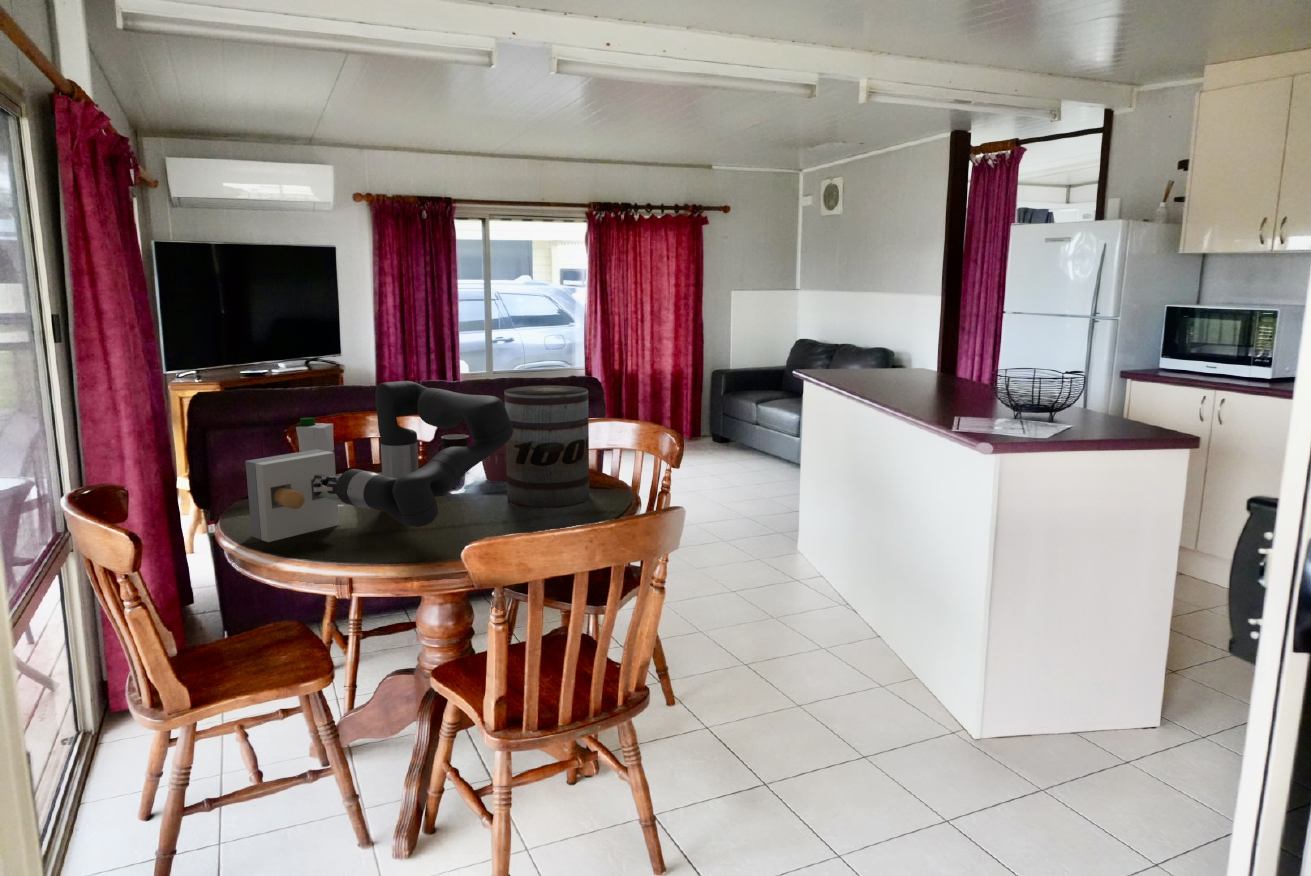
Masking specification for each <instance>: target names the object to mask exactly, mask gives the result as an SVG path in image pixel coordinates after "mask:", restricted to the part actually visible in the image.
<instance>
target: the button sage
mask: <svg viewBox="0 0 1311 876" xmlns="http://www.w3.org/2000/svg"><path fill="white" fill-rule="evenodd" d="M318 496H320V497H324V498H327V499H331V500H337V501H339V500H340V499H339V497H338V496H336V495H334V494H329V493H328V492H327V491H323V493H322V494H320V495H318Z"/></svg>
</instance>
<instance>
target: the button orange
mask: <svg viewBox="0 0 1311 876" xmlns="http://www.w3.org/2000/svg"><path fill="white" fill-rule="evenodd" d="M274 501H275V502H276V503H277V504H279V505H282V506H285V507H289V508H292V509H298V508H300V507H301V506H302V505H303V504H304V501H305V498H304V495H303V494H302V493H301V492H298V491H295V490H291V489H287V488H279V489H278V490H277V491H276V492H275V494H274Z"/></svg>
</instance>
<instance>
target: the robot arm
mask: <svg viewBox="0 0 1311 876" xmlns="http://www.w3.org/2000/svg"><path fill="white" fill-rule="evenodd" d="M374 395H375V409H376V418H377V430H378V434H379V437H380V438H379V439H380V457H381V458H380V460H381V474H380V473H379V472H378V473H377V472H374V471H368V470H362V469H357V468H351V469H348V470H346V471H344V472H343V473H338V474H336V475H329V476H328V475H323V474H318V475H314V477H313V479H314V483H313V489H314V495H316V496H318V495H320V494H322V493H323V491H327V492H328V493H329V494H334V495H336V496H338V497H339V500H340V501H341V502H342V503H344V504H346V505H349V506H354V507H358V508H363V509H367V510H376V511H381V512H385V513H386V514H387V515H389V516H390V517H392V518H393V519H395V520H396V521H397V522H399V523H400V524H403V525H405V526H408V527H411V528H412V527H413V528H420V527H425V526H428V525H430V524H432V523H433V522H434V521H435V520H436V518H437V517H438V513H439V506H438V503H437V500H436V498H435V496H437V497H438V496H443V495H445V494H447V493H449V491H450V490H451V489H452V488H454V486H455V485H456V484H457V483H458V482H459V481H460V480H461V478H463V477H464V476H465V474H466V473H468V472H469V471H471V469H472V468H474V467H476V465H478V464H479V463H482V460H484V459H485V458H487V457H488V456H490V455H491V454H492V453H494V452H495V451H496V450H498V449H499V448H500V447H502V446H503V445H504V444H505V443H507V442H508V441H509V440H510V438H511V437H512V435H513V427H512V424H511V421H510V419H509V416H508V414H507V411H506V408H505V403H504V402H503V400H502V399H501V398H499V397H497V396H495V395H484V394H478V395H477V394H467V393H461V392H455V391H451V390H448V389H442V388H434V387H427V386H424V385H422V384H419V383H418V382H414V381H412V380H410V381H409V380H401V381H400V380H399V381H387V382H385V381H384V382H381V383H379V384H378V385H377V387H376V390H375V394H374ZM411 416H419V418H420V419H421V420H422V421H423V423H426V424H427V425H429V426H432V427H435V428H440V429H445V430H447V429H448V430H449V429H453V428H455V427H457V426H458V425H459V424H461V422H463V420H464V421H465V422H466V424H467V425H466V426H467V427H468V429H469V432H470V435H471V438H472V439H473V441H474V442H473V445H471V446H468V447H448V448H445V449H443V448H442V449H441V451H440V452H439V451H438V452H437V453H436V454H435V455H434V456H433V457H432V458H431V459H430V460H429V461H428V462H427V463H426V464H425V465H423V466H422V467H420V468H419V452H418V451H419V450H418V449H419V448H418V434H417V431H415V430H414V429H410V428H406V427H404V426H403V427H402V426H401V425H399V423H398V419H397V418H401V417H411Z"/></svg>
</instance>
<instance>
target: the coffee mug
mask: <svg viewBox="0 0 1311 876" xmlns="http://www.w3.org/2000/svg"><path fill="white" fill-rule="evenodd" d="M440 437H441V444H440V445H439V447H438V453H439V452H440V451H441V450H443V449H445V448H448V447H469V435H466V434H461V433H460V434H446V435H442V436H440Z"/></svg>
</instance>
